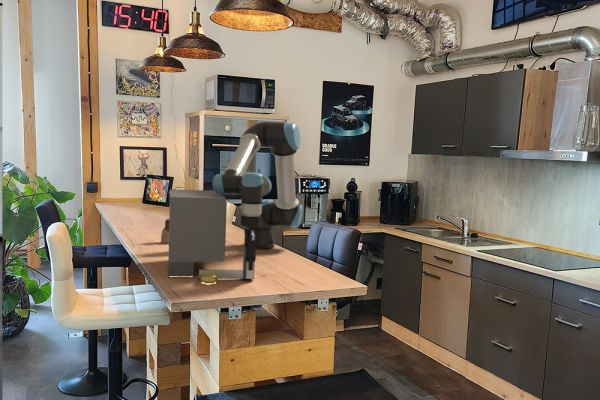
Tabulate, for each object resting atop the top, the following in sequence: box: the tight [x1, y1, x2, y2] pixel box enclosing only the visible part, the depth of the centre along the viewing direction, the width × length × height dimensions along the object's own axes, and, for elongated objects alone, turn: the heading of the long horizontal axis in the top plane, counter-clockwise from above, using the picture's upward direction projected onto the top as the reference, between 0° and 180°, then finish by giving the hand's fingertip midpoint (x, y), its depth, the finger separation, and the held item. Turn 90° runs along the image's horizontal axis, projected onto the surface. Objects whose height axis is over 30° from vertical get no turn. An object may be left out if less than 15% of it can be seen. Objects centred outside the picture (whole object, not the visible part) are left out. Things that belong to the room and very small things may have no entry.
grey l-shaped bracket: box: [198, 244, 256, 280], centre depth 181 cm, size 20×4×12 cm, turn 101°
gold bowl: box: [200, 273, 218, 283], centre depth 177 cm, size 6×6×3 cm
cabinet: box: [167, 189, 228, 277], centre depth 196 cm, size 22×28×30 cm
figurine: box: [160, 218, 169, 245], centre depth 242 cm, size 7×7×12 cm
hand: (248, 276), depth 184 cm, fingers closed on grey l-shaped bracket, 4 cm apart
